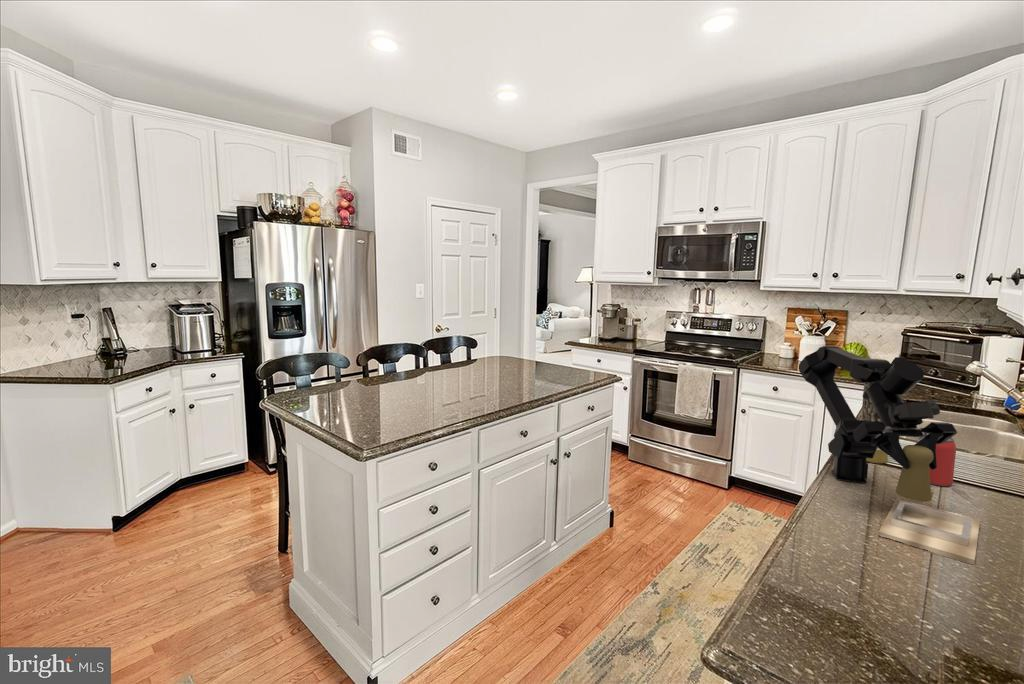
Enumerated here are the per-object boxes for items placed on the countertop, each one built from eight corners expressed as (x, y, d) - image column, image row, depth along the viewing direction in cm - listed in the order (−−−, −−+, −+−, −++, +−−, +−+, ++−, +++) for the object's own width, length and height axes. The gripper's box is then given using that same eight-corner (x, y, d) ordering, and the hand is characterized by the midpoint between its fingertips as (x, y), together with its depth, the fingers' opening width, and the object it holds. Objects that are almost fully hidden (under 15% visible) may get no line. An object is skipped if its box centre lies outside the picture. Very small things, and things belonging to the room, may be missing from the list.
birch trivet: (878, 536, 96) (878, 531, 96) (896, 502, 111) (896, 498, 111) (974, 565, 86) (974, 559, 86) (979, 523, 101) (980, 519, 101)
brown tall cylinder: (892, 465, 135) (899, 378, 132) (865, 463, 136) (871, 377, 134) (879, 457, 141) (886, 374, 139) (853, 455, 143) (860, 373, 140)
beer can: (918, 475, 128) (922, 431, 126) (951, 481, 124) (956, 436, 122) (918, 482, 123) (923, 437, 121) (953, 489, 119) (958, 443, 117)
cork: (904, 487, 108) (909, 440, 106) (937, 498, 102) (943, 449, 101) (889, 492, 105) (894, 444, 104) (922, 503, 100) (927, 453, 98)
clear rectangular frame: (890, 524, 99) (891, 518, 99) (899, 507, 107) (900, 500, 107) (967, 546, 91) (968, 539, 90) (971, 525, 99) (971, 518, 98)
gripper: (865, 386, 105) (896, 451, 96) (954, 387, 104) (996, 453, 94) (840, 411, 114) (867, 473, 105) (923, 412, 113) (958, 475, 103)
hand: (921, 468), depth 101 cm, fingers closed on cork, 5 cm apart
